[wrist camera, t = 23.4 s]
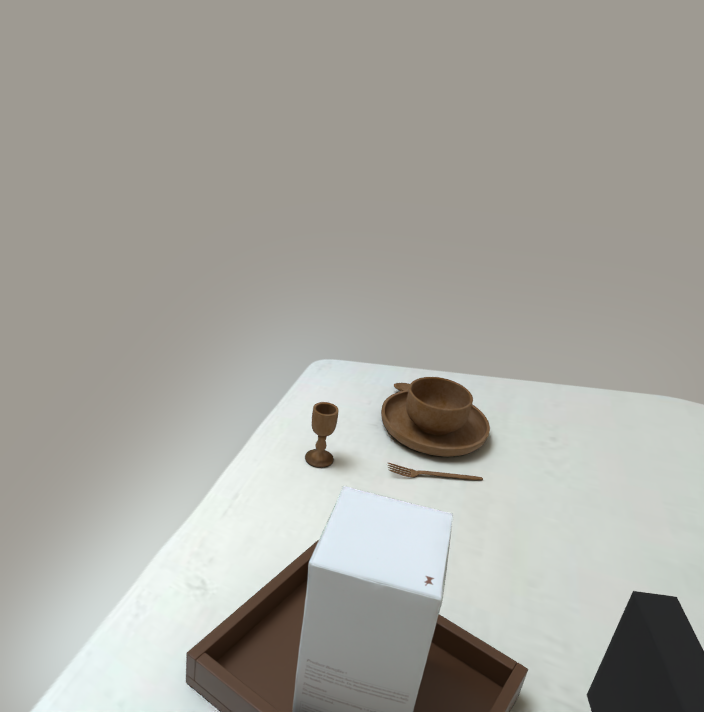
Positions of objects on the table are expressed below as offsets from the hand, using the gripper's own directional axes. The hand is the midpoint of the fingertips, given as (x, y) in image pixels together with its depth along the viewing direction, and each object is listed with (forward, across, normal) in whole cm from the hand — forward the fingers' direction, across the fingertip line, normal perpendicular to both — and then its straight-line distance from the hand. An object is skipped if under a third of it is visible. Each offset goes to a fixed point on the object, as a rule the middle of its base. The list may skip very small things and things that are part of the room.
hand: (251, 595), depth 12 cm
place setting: (+53, +8, -30) cm, 62 cm away
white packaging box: (+21, +5, -29) cm, 36 cm away
